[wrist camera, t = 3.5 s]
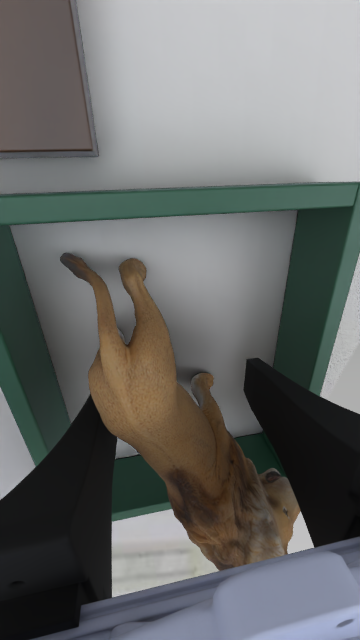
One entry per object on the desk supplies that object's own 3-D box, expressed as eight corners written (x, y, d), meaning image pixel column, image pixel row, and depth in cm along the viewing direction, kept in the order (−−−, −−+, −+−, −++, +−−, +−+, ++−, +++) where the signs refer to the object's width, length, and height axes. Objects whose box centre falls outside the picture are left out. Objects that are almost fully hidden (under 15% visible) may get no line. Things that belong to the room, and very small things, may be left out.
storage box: (74, 474, 18) (64, 532, 15) (-22, 195, 10) (-85, 199, 7) (270, 438, 20) (296, 482, 17) (317, 182, 12) (380, 181, 9)
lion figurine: (258, 400, 18) (351, 572, 10) (194, 438, 19) (234, 622, 11) (108, 215, 11) (42, 301, 3) (21, 288, 12) (-186, 485, 4)
